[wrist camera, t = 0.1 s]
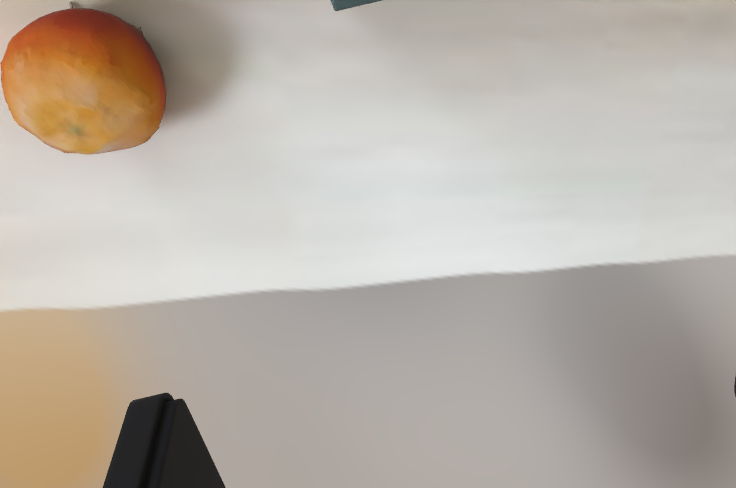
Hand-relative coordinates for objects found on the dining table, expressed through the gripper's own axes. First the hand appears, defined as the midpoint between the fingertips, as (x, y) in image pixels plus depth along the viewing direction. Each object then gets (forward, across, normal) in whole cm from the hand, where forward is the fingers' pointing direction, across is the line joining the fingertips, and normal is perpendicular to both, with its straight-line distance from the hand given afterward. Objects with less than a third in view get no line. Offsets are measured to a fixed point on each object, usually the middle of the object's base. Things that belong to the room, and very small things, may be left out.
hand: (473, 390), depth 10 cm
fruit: (+31, +14, -1) cm, 34 cm away
